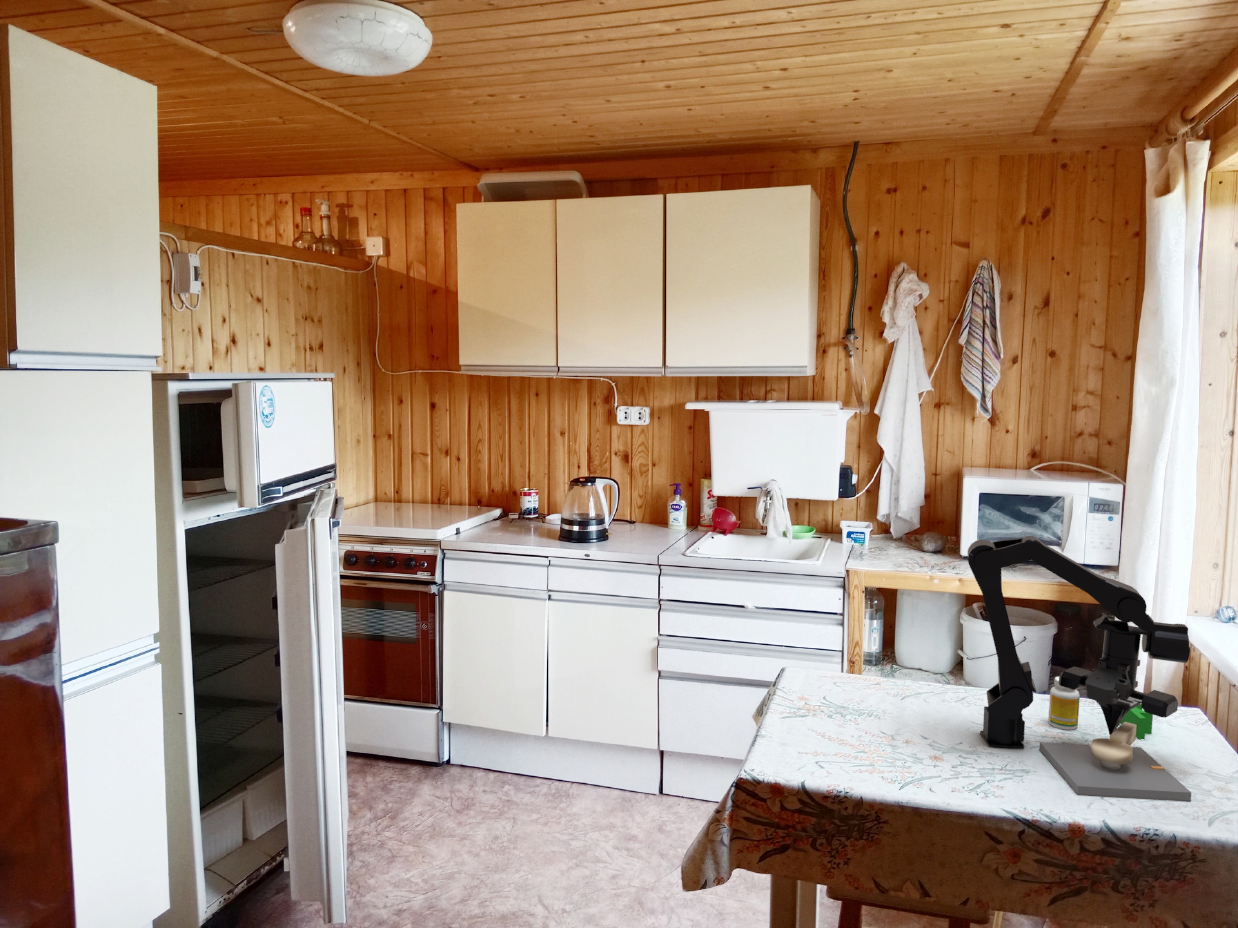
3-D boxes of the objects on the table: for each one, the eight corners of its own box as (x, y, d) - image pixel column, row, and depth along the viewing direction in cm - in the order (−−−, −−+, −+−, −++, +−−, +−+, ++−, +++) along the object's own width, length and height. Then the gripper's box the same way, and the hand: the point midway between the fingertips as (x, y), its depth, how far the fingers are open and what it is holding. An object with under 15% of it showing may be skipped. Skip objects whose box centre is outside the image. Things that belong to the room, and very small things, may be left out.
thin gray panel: (1077, 794, 148) (1078, 777, 148) (1039, 749, 166) (1040, 734, 166) (1190, 800, 146) (1192, 783, 146) (1140, 754, 164) (1141, 739, 164)
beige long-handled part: (1126, 767, 151) (1127, 751, 151) (1086, 756, 156) (1087, 740, 156) (1148, 743, 161) (1150, 727, 161) (1110, 733, 166) (1111, 718, 166)
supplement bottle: (1045, 718, 181) (1047, 673, 180) (1072, 720, 180) (1075, 675, 179) (1052, 729, 176) (1055, 682, 175) (1081, 731, 175) (1084, 684, 174)
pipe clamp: (1158, 741, 171) (1160, 719, 170) (1138, 740, 171) (1140, 718, 171) (1132, 718, 182) (1134, 697, 181) (1113, 717, 182) (1114, 696, 182)
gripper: (1048, 647, 163) (1041, 727, 165) (1158, 678, 149) (1148, 765, 151) (1076, 637, 170) (1068, 713, 172) (1183, 665, 156) (1173, 749, 158)
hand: (1111, 734), depth 163 cm, fingers closed
